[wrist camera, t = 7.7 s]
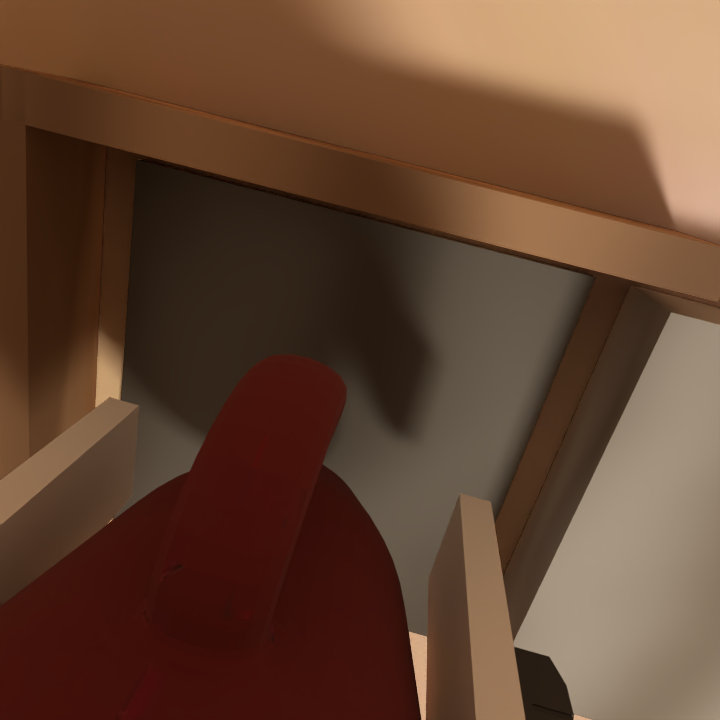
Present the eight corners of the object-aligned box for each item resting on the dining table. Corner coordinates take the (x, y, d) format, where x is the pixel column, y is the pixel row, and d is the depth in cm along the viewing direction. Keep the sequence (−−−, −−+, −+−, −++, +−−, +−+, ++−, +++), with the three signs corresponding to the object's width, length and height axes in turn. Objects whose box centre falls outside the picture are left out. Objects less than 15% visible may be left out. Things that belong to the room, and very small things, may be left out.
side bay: (63, 526, 19) (-1, 590, 16) (71, 78, 14) (-22, 59, 11) (702, 706, 18) (750, 806, 16) (988, 309, 13) (1141, 354, 10)
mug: (140, 250, 12) (-750, 550, 3) (493, 309, 12) (702, 899, 2) (147, 596, 16) (-232, 1181, 7) (411, 653, 16) (375, 1374, 6)
